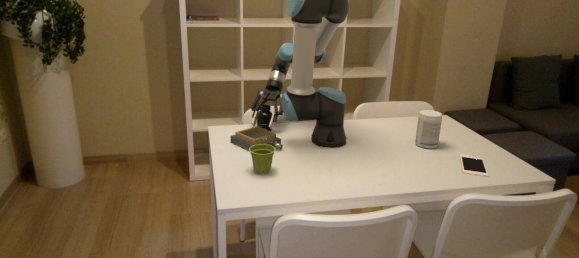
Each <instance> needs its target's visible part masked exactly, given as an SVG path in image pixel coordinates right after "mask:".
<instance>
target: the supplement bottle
mask: <svg viewBox="0 0 579 258" xmlns="http://www.w3.org/2000/svg"><path fill="white" fill-rule="evenodd" d="M271 108H272V107H271V105H268V104H264V105H261V106H260V110H259V111H258V113H257V121H256V126H258V127H261V128H263V129H266V130H268V131H271V132H273V131H272V130H273V128H272V129H270V127H269V124H270V121H271V118H272V114H273V112H272V111H271Z"/></svg>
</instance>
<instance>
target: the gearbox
mask: <svg viewBox="0 0 579 258" xmlns="http://www.w3.org/2000/svg"><path fill="white" fill-rule="evenodd" d="M230 143H231V144H233V145H235V146H237V147H239V148H242V149H244V150H246V151H248V152H250V151H249V148H250V147H251V146H253V145H257V144H268V145H271V146H274V147H275V149H277V150H278V151H281V150H283V144H282V138H280V137H278V136H277V133H275V132H273V131H268V130H266V129H263V128H261V127H258V126H257V125H255V126H251V127H250V128H245V129H242V130H241V129H240V130H238V131H235V133H234V134H232V135H230Z"/></svg>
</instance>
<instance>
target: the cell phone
mask: <svg viewBox="0 0 579 258" xmlns="http://www.w3.org/2000/svg"><path fill="white" fill-rule="evenodd" d="M478 157H479V156H477V157H474V155H470V156H469V155H467V154H463V153H460V154H459V159H460V158H461V160H460V164H461V163H462V165H461V170H462V169H463V171H462V173H463V172H465V173H472V174H478V175H485V176H488V177H489V173H488V171H487V167H486V163H485V160H484V158H483V157H482V158H483V159H482V158H481V159H480V158H478ZM477 158H478V159H477ZM476 159H477V160H476ZM483 160H484V161H483ZM465 173H464V174H465ZM478 175H477V176H478ZM485 176H484V177H485Z"/></svg>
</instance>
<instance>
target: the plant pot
mask: <svg viewBox="0 0 579 258" xmlns="http://www.w3.org/2000/svg"><path fill="white" fill-rule="evenodd" d="M248 152H250V156H251V160H252V166H253V171H254V173H255V174H259V175H262V174H269V173H270V172H271V171H272V170H271V169H272V163H273V159H274V158H273V157H274V154H275V153H276V148H275V147H274V146H271V145H268V144H257V145H253V146H251V147H250V148H249V151H248Z"/></svg>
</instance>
